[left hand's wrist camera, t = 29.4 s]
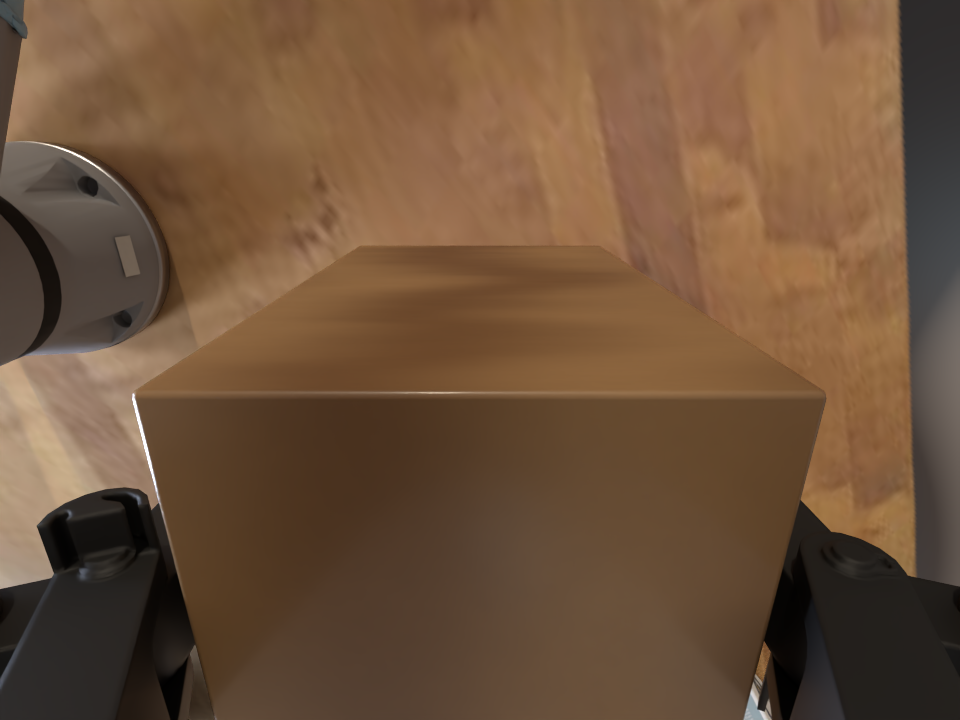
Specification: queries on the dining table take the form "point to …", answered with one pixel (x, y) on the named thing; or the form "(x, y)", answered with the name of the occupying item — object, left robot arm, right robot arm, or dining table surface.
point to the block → (479, 493)
